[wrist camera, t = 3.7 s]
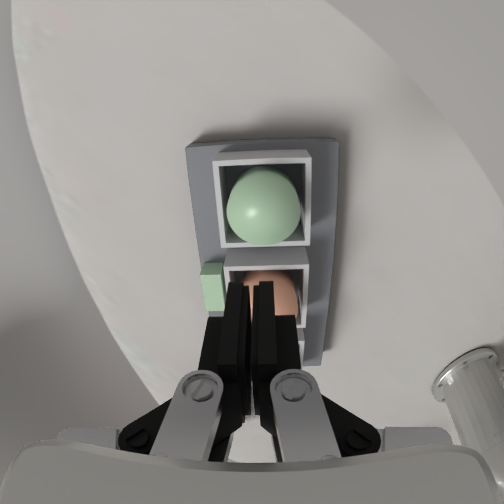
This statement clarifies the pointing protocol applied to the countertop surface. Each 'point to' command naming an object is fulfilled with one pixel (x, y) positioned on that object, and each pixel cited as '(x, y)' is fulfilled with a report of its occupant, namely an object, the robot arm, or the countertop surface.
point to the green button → (263, 206)
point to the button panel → (280, 254)
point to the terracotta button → (275, 289)
